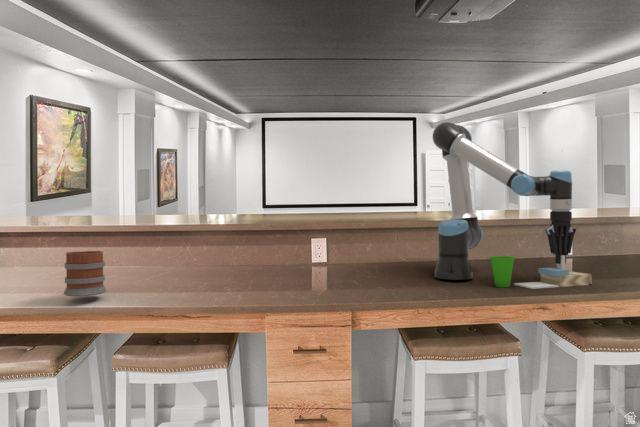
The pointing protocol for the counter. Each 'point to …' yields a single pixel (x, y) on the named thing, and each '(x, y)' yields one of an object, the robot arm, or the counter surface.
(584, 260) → the counter surface
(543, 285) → the mat
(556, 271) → the card
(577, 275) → the light wood flat block
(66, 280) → the mug
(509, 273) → the cup
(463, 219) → the robot arm
